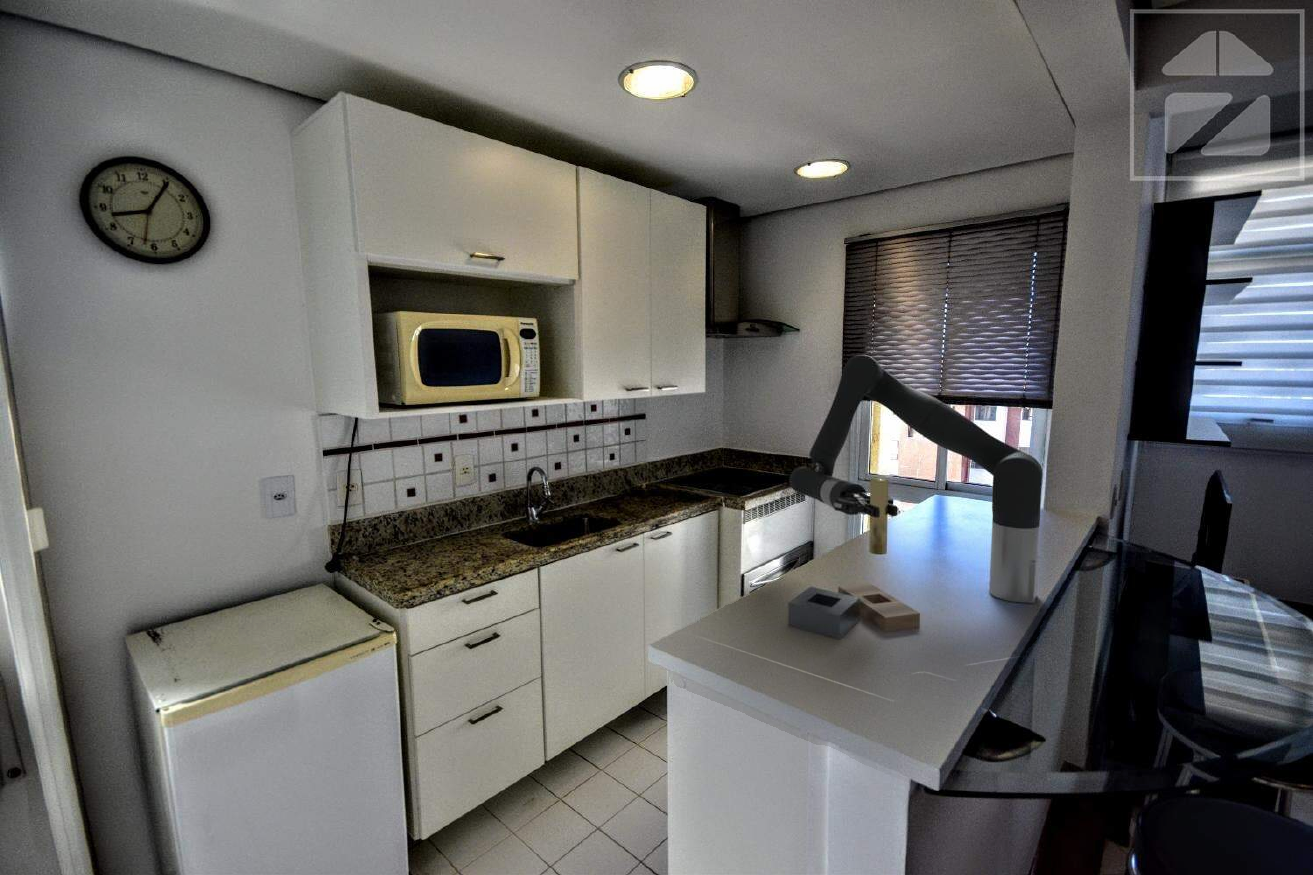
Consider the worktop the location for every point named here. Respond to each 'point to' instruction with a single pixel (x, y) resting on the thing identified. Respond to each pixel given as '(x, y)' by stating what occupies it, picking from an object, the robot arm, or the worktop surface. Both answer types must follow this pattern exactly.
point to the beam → (882, 607)
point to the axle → (879, 524)
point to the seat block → (823, 612)
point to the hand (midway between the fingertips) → (886, 512)
